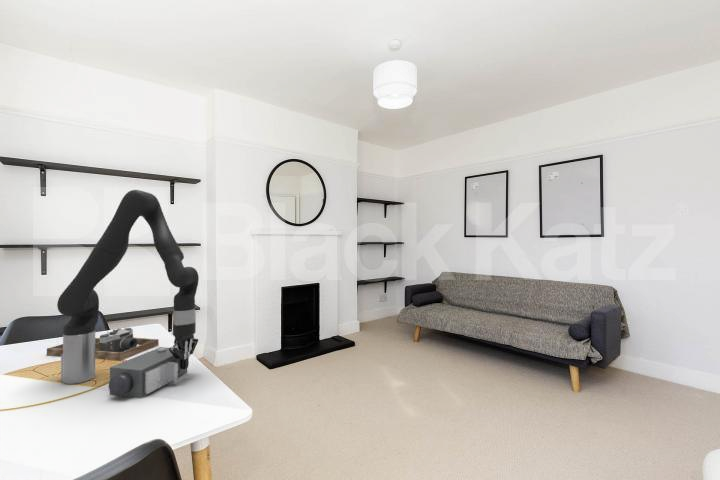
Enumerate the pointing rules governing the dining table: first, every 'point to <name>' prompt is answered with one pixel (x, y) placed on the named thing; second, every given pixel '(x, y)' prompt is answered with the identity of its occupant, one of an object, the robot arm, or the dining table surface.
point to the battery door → (160, 376)
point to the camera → (117, 340)
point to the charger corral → (59, 349)
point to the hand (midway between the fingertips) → (184, 368)
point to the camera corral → (144, 345)
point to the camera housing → (138, 372)
